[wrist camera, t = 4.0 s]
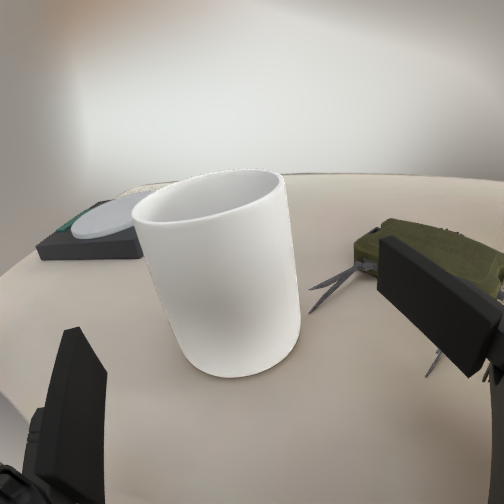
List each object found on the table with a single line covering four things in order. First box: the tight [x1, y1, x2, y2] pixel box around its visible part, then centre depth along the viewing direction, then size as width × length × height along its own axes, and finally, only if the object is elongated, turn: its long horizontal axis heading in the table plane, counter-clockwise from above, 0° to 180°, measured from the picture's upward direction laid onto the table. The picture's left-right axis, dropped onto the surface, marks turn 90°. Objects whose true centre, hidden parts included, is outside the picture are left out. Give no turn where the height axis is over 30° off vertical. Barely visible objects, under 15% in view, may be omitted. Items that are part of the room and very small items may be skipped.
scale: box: [36, 191, 155, 260], centre depth 44 cm, size 20×17×3 cm
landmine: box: [309, 218, 504, 378], centre depth 22 cm, size 14×3×15 cm
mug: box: [131, 169, 300, 378], centre depth 21 cm, size 12×8×10 cm
